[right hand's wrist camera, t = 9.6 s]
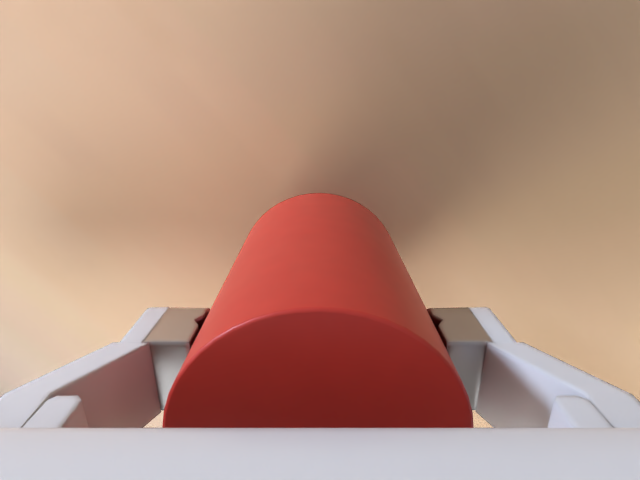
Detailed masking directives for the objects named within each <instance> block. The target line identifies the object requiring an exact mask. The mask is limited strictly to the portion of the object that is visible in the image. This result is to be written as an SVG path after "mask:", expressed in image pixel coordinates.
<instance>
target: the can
mask: <svg viewBox="0 0 640 480" xmlns="http://www.w3.org/2000/svg"><path fill="white" fill-rule="evenodd" d="M163 428H473V413H472V408H471V404H470V400H469V396H468V394H467V391H466V389H465V387H464V385H463V382H462V380H461V378H460V376H459V374H458V372H457V370H456V368H455V366H454V364H453V362H452V360H451V358H450V356H449V354H448V352H447V350H446V348H445V346H444V344H443V342H442V340H441V338H440V336H439V334H438V332H437V330H436V328H435V326H434V324H433V322H432V320H431V318H430V316H429V314H428V312H427V310H426V308H425V306H424V304H423V302H422V300H421V298H420V296H419V294H418V292H417V290H416V288H415V286H414V284H413V282H412V280H411V278H410V276H409V274H408V272H407V270H406V268H405V265H404V263H403V261H402V259H401V257H400V255H399V253H398V251H397V249H396V247H395V245H394V243H393V241H392V239H391V237H390V235H389V233H388V232H387V230H386V228H385V227H384V225H383V224H382V223H381V222H380V220H379V219H378V218H377V217H376V216H375V215H374V214H373V213H372V212H371V211H370V210H368V209H367V208H365V207H364V206H362V205H361V204H359V203H357V202H355V201H353V200H351V199H348V198H345V197H342V196H338V195H333V194H325V193H312V194H304V195H299V196H296V197H293V198H289V199H287V200H285V201H283V202H281V203H279V204H277V205H275V206H274V207H272V208H271V209H270V210H268V211H267V212H266V213H265V214H264V215H263V216H262V217H261V218H260V219H259V220H258V221H257V222H256V223H255V225H254V227H253V228H252V230H251V231H250V233H249V235H248V237H247V239H246V241H245V243H244V245H243V247H242V249H241V251H240V253H239V255H238V257H237V259H236V260H235V262H234V264H233V266H232V268H231V270H230V272H229V274H228V276H227V278H226V280H225V282H224V284H223V286H222V288H221V290H220V292H219V294H218V296H217V298H216V300H215V302H214V304H213V306H212V308H211V310H210V312H209V314H208V316H207V318H206V319H205V321H204V323H203V325H202V327H201V329H200V331H199V333H198V335H197V337H196V339H195V341H194V343H193V345H192V347H191V349H190V351H189V353H188V355H187V357H186V359H185V361H184V363H183V365H182V367H181V369H180V371H179V373H178V375H177V377H176V379H175V381H174V383H173V385H172V387H171V389H170V391H169V394H168V397H167V401H166V404H165V408H164V417H163Z"/></svg>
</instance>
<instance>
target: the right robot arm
mask: <svg viewBox="0 0 640 480" xmlns="http://www.w3.org/2000/svg"><path fill="white" fill-rule="evenodd" d="M209 312H210V309H209V308H172V307H171V308H169V307H152V308H147V310H146V311H145V312H144V313H143V314H142V316H141V317H140V318H139V319H138V320H137V322H136V323H135V324H134V325H133V327H132V328H131V329H130V330H129V331H128V333H127V334H126V335H125V336H124V338H123V339H122V340H121V341H120V342H119V343H111V344H109V345H107V346H105V347H103V348H100V349H98V350H96V351H94V352H92V353H90V354H88V355H86V356H84V357H81V358H79V359H77V360H75V361H73V362H71V363H69V364H67V365H65V366H62V367H60V368H58V369H56V370H54V371H52V372H50V373H48V374H45V375H43V376H41V377H39V378H37V379H35V380H33V381H31V382H29V383H26V384H24V385H22V386H20V387H18V388H16V389H14V390H12V391H9V392H7V393H5V394H4V395H3V396H2V397H1V398H0V480H640V402H639V401H638V400H637V399H636V398H635V397H634V396H633V395H632V394H630V393H628V392H626V391H624V390H622V389H620V388H618V387H615V386H613V385H611V384H609V383H607V382H605V381H603V380H601V379H599V378H597V377H594V376H592V375H590V374H588V373H586V372H584V371H582V370H580V369H578V368H576V367H574V366H571V365H569V364H567V363H565V362H563V361H561V360H559V359H557V358H555V357H553V356H551V355H548V354H546V353H544V352H542V351H540V350H538V349H536V348H534V347H532V346H530V345H528V344H525V343H517V342H516V341H515V339H514V338H513V337H512V336H511V334H510V333H509V332H508V331H507V329H506V328H505V327H504V326H503V325H502V323H501V322H500V321H499V320H498V318H497V317H496V316H495V315H494V313H493V312H492V311H491V310H490V309H489V308H487V307H474V308H430V309H427V312H428V314H429V316H430V318H431V320H432V322H433V324H434V326H435V328H436V330H437V332H438V334H439V336H440V338H441V340H442V342H443V344H444V346H445V348H446V350H447V352H448V354H449V356H450V358H451V360H452V362H453V364H454V366H455V368H456V370H457V372H458V374H459V376H460V378H461V380H462V382H463V385H464V387H465V389H466V391H467V394H468V396H469V400H470V404H471V408H472V410H476V412H477V413H478V414H479V415H480V416H481V417H482V418H483V419H485V420H486V421H487V422H488V423H489V424H490V425H491V426H493V427H494V428H143V427H144V426H145V425H146V424H148V423H149V422H150V421H151V420H152V419H153V418H155V417H156V416H157V415H158V414H159V413H160V412H161V410H164V408H165V404H166V401H167V397H168V394H169V391H170V389H171V387H172V385H173V383H174V381H175V379H176V377H177V375H178V373H179V371H180V369H181V367H182V365H183V363H184V361H185V359H186V357H187V355H188V353H189V351H190V349H191V347H192V345H193V343H194V341H195V339H196V337H197V335H198V333H199V331H200V329H201V327H202V325H203V323H204V321H205V319H206V318H207V316H208V314H209Z"/></svg>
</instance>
